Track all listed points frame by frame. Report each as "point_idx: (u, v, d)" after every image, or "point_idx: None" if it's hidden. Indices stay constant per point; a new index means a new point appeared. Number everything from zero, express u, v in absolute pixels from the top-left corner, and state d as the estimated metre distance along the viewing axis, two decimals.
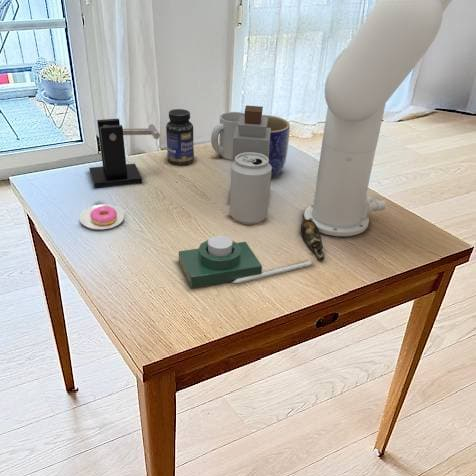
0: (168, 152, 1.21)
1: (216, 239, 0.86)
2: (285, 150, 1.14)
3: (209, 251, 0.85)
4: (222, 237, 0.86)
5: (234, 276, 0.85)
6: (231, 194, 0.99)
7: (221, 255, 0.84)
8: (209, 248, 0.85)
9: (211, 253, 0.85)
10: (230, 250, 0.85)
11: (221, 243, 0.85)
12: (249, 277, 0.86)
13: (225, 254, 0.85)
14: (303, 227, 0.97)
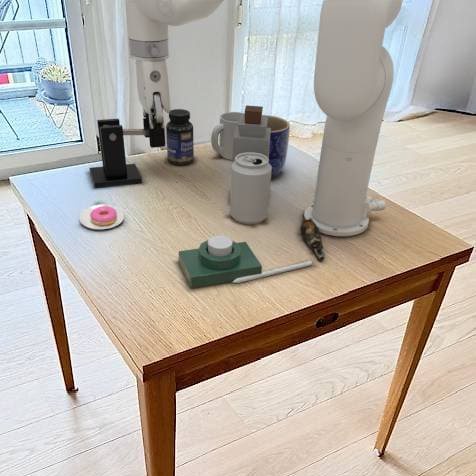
0: (168, 152, 1.21)
1: (216, 239, 0.86)
2: (285, 150, 1.14)
3: (209, 251, 0.85)
4: (222, 237, 0.86)
5: (234, 276, 0.85)
6: (231, 194, 0.99)
7: (221, 255, 0.84)
8: (209, 248, 0.85)
9: (211, 253, 0.85)
10: (230, 250, 0.85)
11: (221, 243, 0.85)
12: (249, 276, 0.86)
13: (225, 254, 0.85)
14: (303, 227, 0.97)
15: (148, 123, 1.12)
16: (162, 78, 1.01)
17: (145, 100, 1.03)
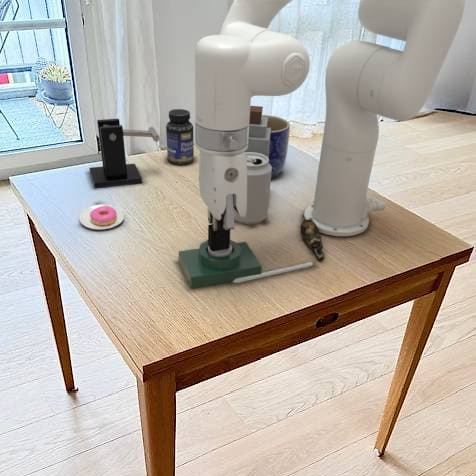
0: (168, 152, 1.21)
1: None
2: (285, 150, 1.14)
3: None
4: None
5: (234, 276, 0.85)
6: None
7: None
8: (209, 253, 0.85)
9: None
10: None
11: None
12: (249, 276, 0.86)
13: None
14: (303, 227, 0.97)
15: None
16: (240, 177, 0.74)
17: (215, 204, 0.76)
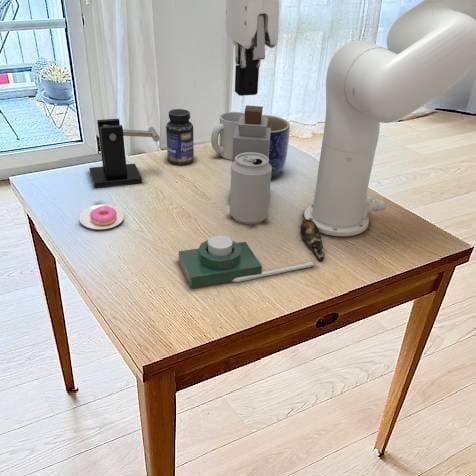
0: (168, 152, 1.21)
1: (216, 239, 0.86)
2: (285, 150, 1.14)
3: (209, 251, 0.85)
4: (222, 237, 0.86)
5: (234, 276, 0.85)
6: (231, 194, 0.99)
7: (221, 255, 0.84)
8: (209, 248, 0.85)
9: (211, 253, 0.85)
10: (230, 250, 0.85)
11: (221, 243, 0.85)
12: (248, 276, 0.86)
13: (225, 254, 0.85)
14: (303, 227, 0.97)
15: None
16: None
17: (245, 27, 0.72)
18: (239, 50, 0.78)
